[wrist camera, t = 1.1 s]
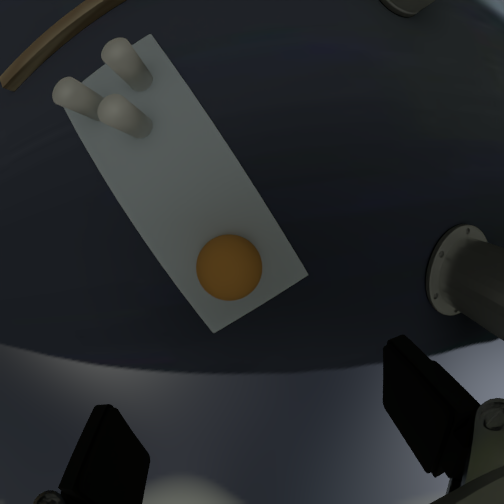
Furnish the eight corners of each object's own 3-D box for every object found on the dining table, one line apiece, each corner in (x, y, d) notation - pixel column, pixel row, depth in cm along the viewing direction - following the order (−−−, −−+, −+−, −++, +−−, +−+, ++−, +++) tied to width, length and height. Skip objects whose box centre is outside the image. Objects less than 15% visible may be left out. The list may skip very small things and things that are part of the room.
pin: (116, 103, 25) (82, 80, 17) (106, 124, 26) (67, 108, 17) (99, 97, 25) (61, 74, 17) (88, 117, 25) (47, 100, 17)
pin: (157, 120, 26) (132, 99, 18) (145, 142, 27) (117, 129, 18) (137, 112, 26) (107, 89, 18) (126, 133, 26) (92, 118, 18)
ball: (268, 245, 30) (279, 261, 24) (241, 296, 31) (245, 322, 25) (215, 219, 29) (212, 228, 23) (189, 271, 30) (181, 293, 24)
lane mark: (308, 274, 31) (308, 274, 31) (213, 332, 32) (213, 333, 32) (150, 34, 24) (150, 33, 23) (61, 101, 24) (60, 101, 24)
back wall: (163, -21, 22) (160, -32, 19) (14, 91, 23) (2, 87, 20) (156, -28, 21) (153, -40, 19) (10, 81, 22) (-1, 77, 20)
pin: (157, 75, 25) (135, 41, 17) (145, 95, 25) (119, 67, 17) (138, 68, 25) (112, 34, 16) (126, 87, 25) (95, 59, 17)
